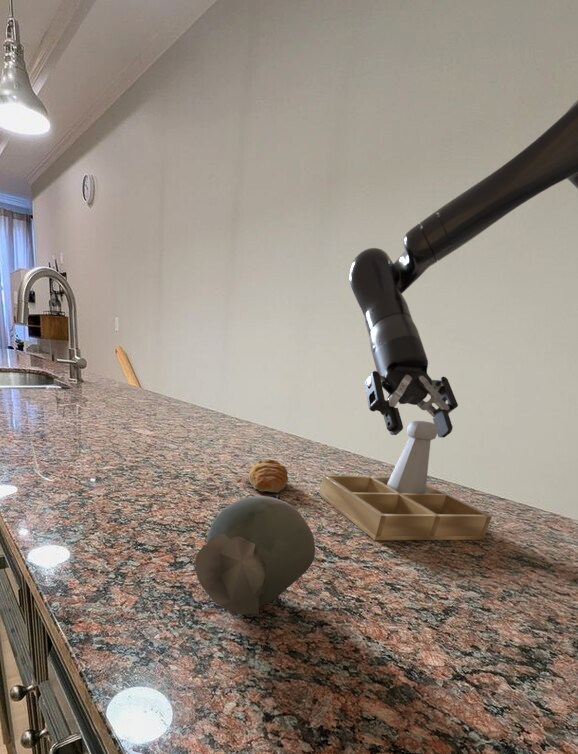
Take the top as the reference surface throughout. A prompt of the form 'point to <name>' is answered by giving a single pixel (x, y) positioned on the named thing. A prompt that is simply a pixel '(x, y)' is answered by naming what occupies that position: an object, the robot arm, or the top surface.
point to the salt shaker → (414, 459)
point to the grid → (402, 510)
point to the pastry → (268, 476)
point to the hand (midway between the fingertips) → (421, 433)
